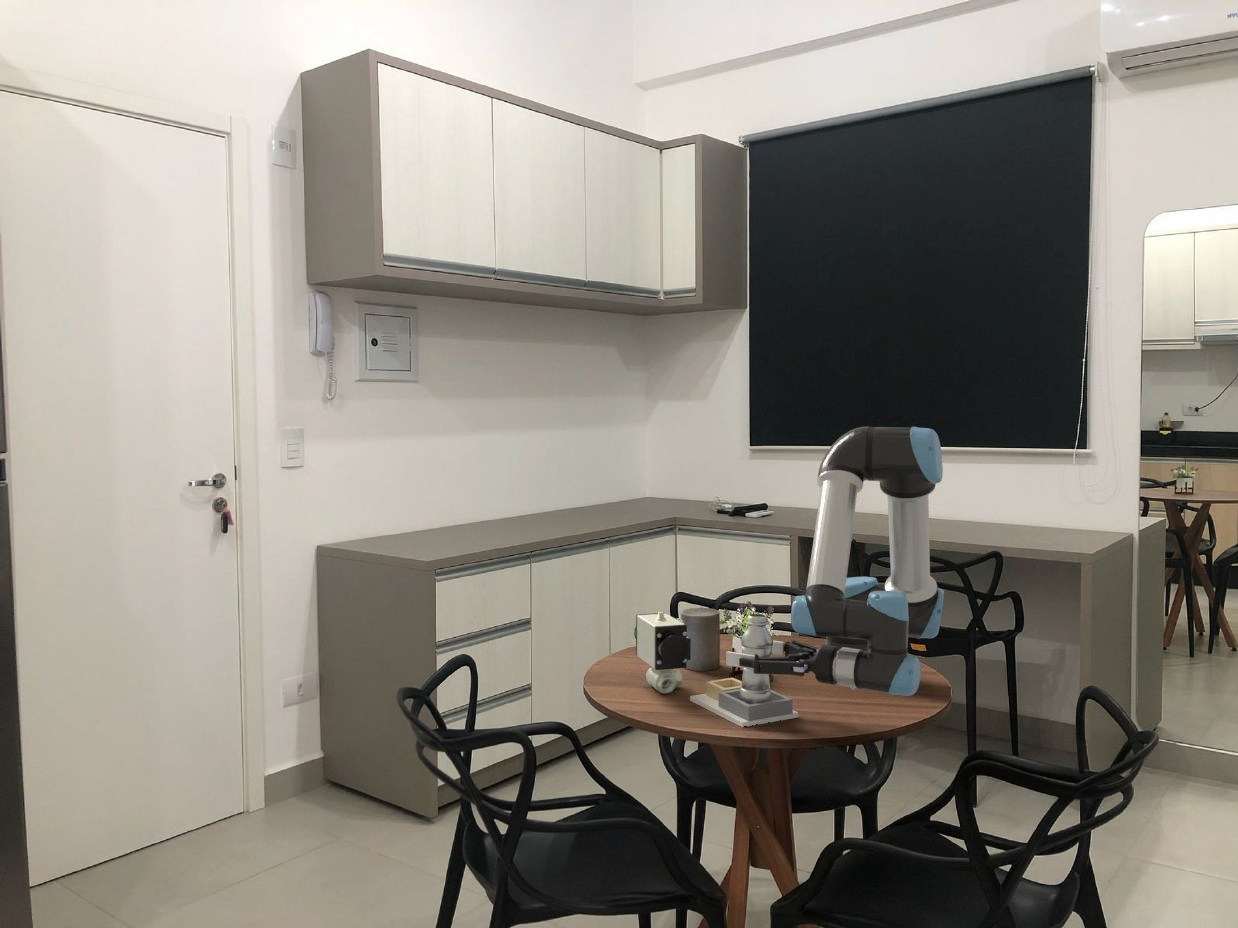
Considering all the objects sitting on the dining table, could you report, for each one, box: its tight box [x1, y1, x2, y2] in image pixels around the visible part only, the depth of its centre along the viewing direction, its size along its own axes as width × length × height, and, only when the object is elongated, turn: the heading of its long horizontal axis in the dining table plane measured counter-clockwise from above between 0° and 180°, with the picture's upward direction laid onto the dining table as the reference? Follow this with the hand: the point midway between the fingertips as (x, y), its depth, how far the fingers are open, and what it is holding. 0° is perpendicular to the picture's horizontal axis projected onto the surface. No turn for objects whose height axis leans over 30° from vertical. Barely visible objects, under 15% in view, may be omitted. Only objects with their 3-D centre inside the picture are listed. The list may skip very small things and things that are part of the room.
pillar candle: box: [679, 607, 721, 672], centre depth 243 cm, size 10×10×15 cm
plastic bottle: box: [739, 613, 774, 705], centre depth 205 cm, size 6×7×20 cm
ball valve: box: [633, 611, 691, 695], centre depth 223 cm, size 18×8×18 cm, turn 18°
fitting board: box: [689, 677, 799, 728], centre depth 210 cm, size 14×20×4 cm
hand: (741, 651), depth 207 cm, fingers open, 13 cm apart
